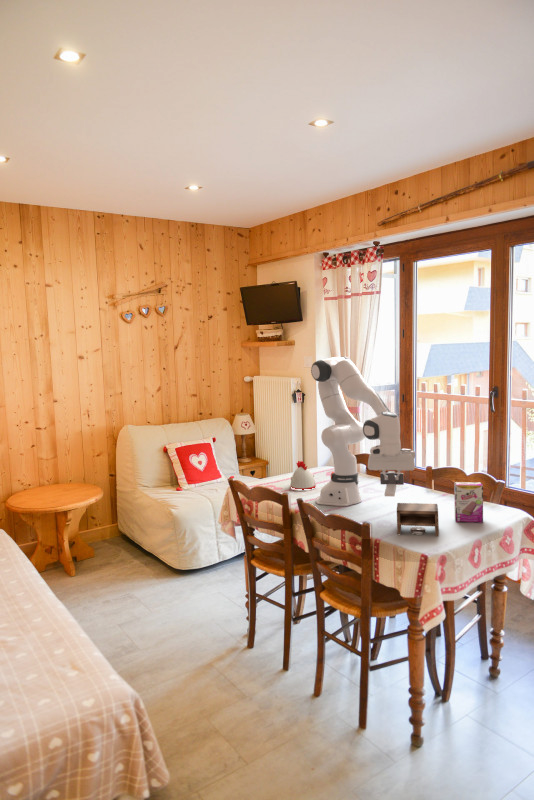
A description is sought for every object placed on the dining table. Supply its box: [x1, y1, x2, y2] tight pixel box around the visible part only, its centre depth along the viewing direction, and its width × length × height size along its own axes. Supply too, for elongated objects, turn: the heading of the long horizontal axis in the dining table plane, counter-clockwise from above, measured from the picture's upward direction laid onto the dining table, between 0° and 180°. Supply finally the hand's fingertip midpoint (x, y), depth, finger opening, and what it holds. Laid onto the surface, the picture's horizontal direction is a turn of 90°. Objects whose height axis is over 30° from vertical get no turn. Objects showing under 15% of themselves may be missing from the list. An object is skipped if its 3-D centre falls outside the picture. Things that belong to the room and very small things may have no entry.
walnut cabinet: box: [396, 502, 440, 537], centre depth 222 cm, size 16×10×10 cm, turn 75°
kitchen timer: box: [289, 460, 317, 490], centre depth 299 cm, size 14×14×15 cm
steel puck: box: [409, 526, 427, 535], centre depth 222 cm, size 6×6×2 cm
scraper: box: [379, 470, 405, 497], centre depth 233 cm, size 10×20×6 cm, turn 164°
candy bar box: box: [453, 481, 484, 524], centre depth 231 cm, size 11×5×16 cm, turn 77°
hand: (391, 479), depth 240 cm, fingers closed on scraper, 3 cm apart
